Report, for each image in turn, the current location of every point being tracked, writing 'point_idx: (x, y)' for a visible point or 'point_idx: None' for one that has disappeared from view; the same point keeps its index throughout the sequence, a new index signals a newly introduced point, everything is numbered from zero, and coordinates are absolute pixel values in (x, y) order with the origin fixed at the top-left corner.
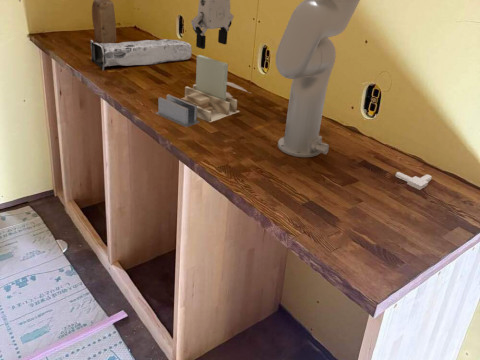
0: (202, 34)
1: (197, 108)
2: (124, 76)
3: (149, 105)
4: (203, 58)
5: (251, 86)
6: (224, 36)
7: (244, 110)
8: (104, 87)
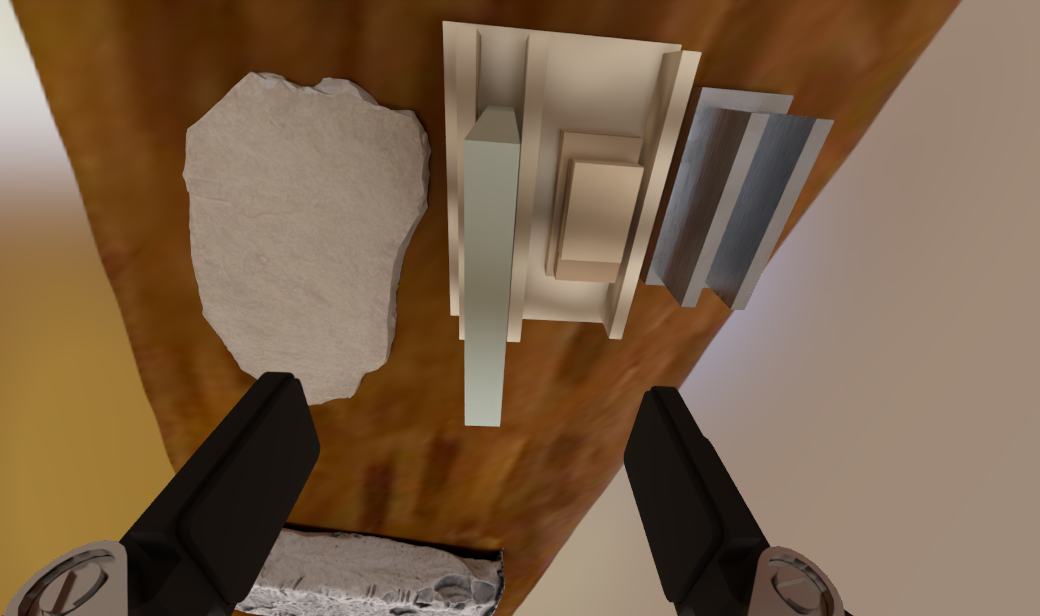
0: (796, 573)
1: (672, 151)
2: (490, 513)
3: (622, 356)
4: (502, 375)
5: (121, 250)
6: (243, 467)
7: (367, 58)
8: (591, 491)
